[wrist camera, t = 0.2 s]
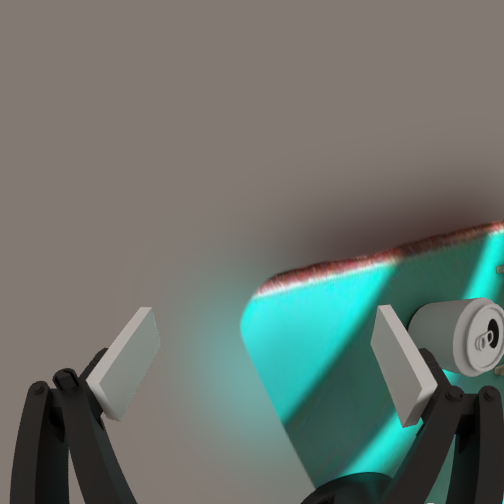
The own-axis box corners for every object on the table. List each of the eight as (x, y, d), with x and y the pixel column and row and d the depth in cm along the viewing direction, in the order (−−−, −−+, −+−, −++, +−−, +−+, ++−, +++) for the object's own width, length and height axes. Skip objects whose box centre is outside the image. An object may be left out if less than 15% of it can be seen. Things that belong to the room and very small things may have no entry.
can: (454, 349, 28) (516, 357, 16) (409, 371, 28) (467, 393, 16) (444, 295, 29) (507, 285, 18) (398, 314, 29) (457, 313, 18)
